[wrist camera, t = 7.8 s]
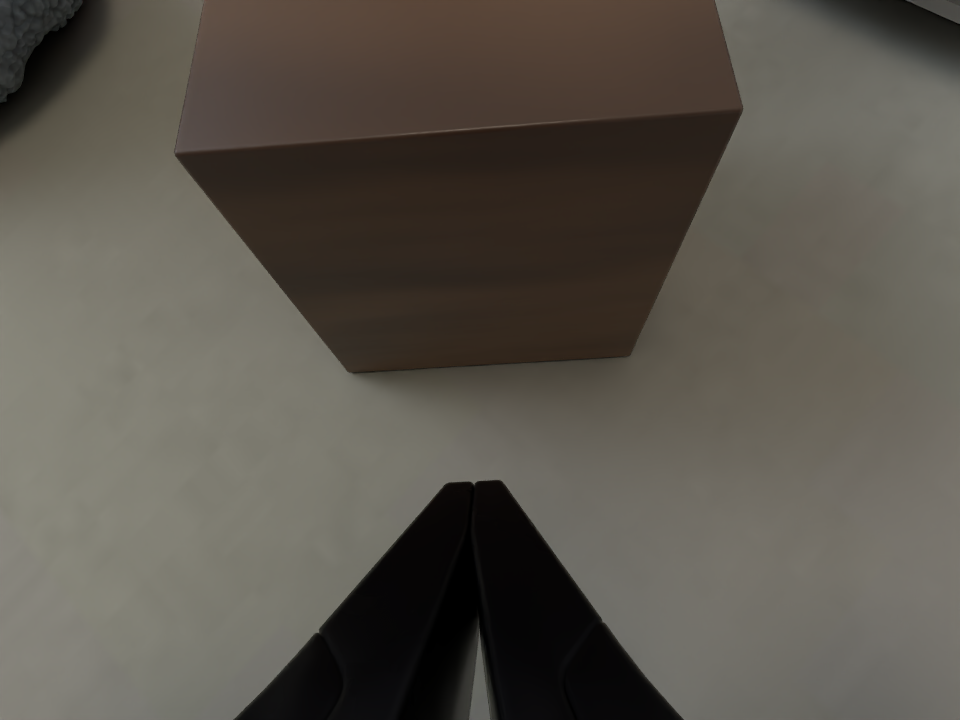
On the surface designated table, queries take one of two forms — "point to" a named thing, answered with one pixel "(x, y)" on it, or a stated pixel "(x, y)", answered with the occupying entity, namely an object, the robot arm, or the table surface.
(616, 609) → the table surface
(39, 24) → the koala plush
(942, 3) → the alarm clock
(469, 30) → the walnut block
